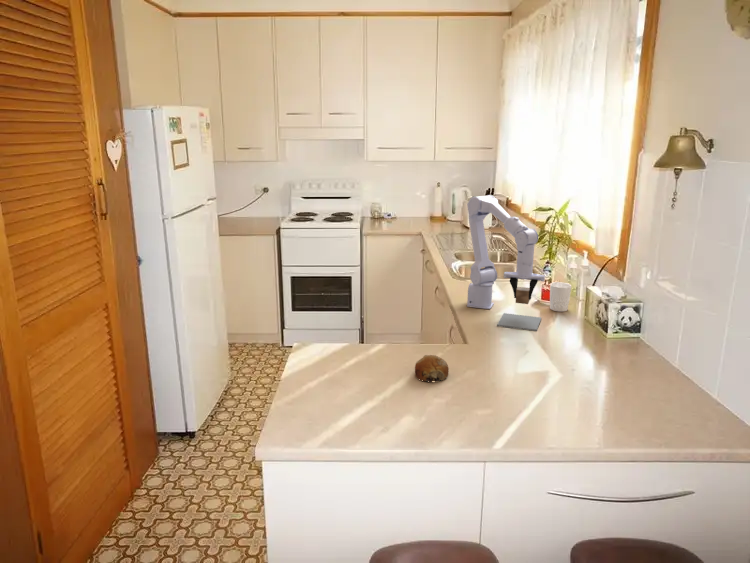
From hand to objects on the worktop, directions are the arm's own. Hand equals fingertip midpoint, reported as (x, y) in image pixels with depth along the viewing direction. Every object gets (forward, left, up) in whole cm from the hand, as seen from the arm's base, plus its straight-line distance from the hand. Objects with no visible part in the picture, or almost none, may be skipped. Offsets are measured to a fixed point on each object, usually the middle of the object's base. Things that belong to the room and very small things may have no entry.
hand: (522, 298), depth 210 cm
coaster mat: (0, -3, -9) cm, 9 cm away
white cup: (+12, +19, -9) cm, 24 cm away
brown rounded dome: (-17, -60, -9) cm, 63 cm away
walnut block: (0, 0, -2) cm, 2 cm away
